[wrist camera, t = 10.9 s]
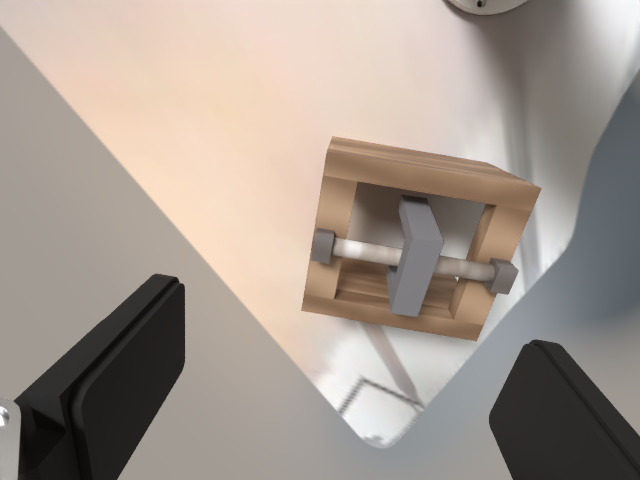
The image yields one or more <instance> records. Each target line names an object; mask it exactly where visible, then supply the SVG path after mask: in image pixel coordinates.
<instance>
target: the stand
mask: <svg viewBox="0 0 640 480" xmlns="http://www.w3.org/2000/svg"><path fill="white" fill-rule="evenodd" d="M358 181H359V182H365V183H371V184H376V185H382V186H388V187H394V188H400V189H406V190H411V191H417V192H423V193H429V194H435V195H441V196H447V197H452V198H458V199H464V200H470V201H476V202H482V203H486V205H485V208H484V211H483V214H482V216H481V219H480V222H479V225H478V227H477V230H476V233H475V236H474V238H473V241H472V244H471V247H470V249H469V252H468V255H467V258H466V260H462V259H457V258H451V257H445V256H439V258H438V260H437V263H436V266H435V269H434V272H433V274H432V277H431V280H430V283H429V286H428V288H427V291H426V294H425V297H424V300H423V302H422V305H421V308H420V311H419V314H418V316H417V317H414V316H407V315H400V314H393V313H390V304H389V295H388V286H387V277H386V269H385V264H387V265H393V266H398V264H399V261H400V257H401V254H402V250H403V249H399V248H393V247H387V246H381V245H375V244H370V243H364V242H358V241H352V240H346V237H347V232H348V227H349V222H350V217H351V212H352V207H353V202H354V197H355V192H356V188H357V183H358ZM540 191H541V188H540V187H538V186H535V185H533V184H531V183H529V182H527V181H525V180H523V179H520V178H518V177H516V176H514V175H512V174H510V173H508V172H506V171H503V170H501V169H499V168H497V167H495V166H493V165H491V164H488V163H486V162H480V161H474V160H468V159H462V158H456V157H451V156H445V155H439V154H433V153H427V152H421V151H415V150H409V149H404V148H398V147H392V146H386V145H380V144H374V143H368V142H362V141H357V140H351V139H345V138H339V137H333V136H332V139H331V142H330V145H329V147H328V150H327V154H326V160H325V167H324V173H323V179H322V185H321V192H320V198H319V204H318V210H317V217H316V223H315V229H314V235H313V241H312V248H311V254H310V260H309V266H308V273H307V279H306V285H305V291H304V298H303V304H302V310H301V311H306V312H312V313H318V314H323V315H329V316H335V317H341V318H346V319H352V320H358V321H364V322H369V323H375V324H381V325H387V326H392V327H398V328H404V329H410V330H415V331H421V332H427V333H433V334H438V335H444V336H450V337H456V338H461V339H467V340H473V341H477V339H478V337H479V334H480V332H481V330H482V327H483V325H484V323H485V320H486V318H487V316H488V313H489V311H490V309H491V306H492V304H493V301H494V299H495V297H496V294H497V293H501V294H507V295H508V294H509V292H510V290H511V288H512V285H513V283H514V281H515V278H516V276H517V274H518V272H519V271H518V270H517V269H516V268H515V267H514V266H513V265H512V264H511V263H510V261H511V259H512V257H513V254H514V252H515V250H516V247H517V245H518V243H519V240H520V238H521V236H522V233H523V231H524V228H525V226H526V224H527V221H528V219H529V217H530V214H531V212H532V210H533V207H534V205H535V203H536V200H537V198H538V195H539V193H540ZM454 276H456V277H459V279H458V282H457V280H456V279H455V277H454Z"/></svg>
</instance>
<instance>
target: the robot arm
mask: <svg viewBox="0 0 640 480" xmlns="http://www.w3.org/2000/svg"><path fill="white" fill-rule="evenodd" d="M448 1H450V2H451V3H452V4H453V5H454V6H456V7H457V8H459V9H461V10H463V11H465V12H468V13H472V14H477V15H493V14H498V13H502V12H506V11H508V10H510V9H513V8H515V7H517V6H519V5H521V4H522V3H524V2H526V1H528V0H448ZM478 2H480V3H481V6H480V7H478V6H477V3H478ZM184 363H185V286H184V284H181V283H179V280H178V278H177V277H173V276H167V275H162V274H154V275H152V276H151V277H150V278H149V279H148V280H147V281H146V282H145V283H144V284H142V285H141V286H140V287H139V288H138V289H137V290H136V291H135V292H134V293H133V294H132V295H130V296H129V297H128V298H127V299H126V300H125V301H124V302H123V303H122V304H121V305H119V306H118V307H117V308H116V309H115V310H114V311H113V312H112V313H111V314H110V315H109V316H107V317H106V318H105V319H104V320H102V321H101V322H100V323H99V324H98V325H96V326H95V327H94V328H93V329H92V330H91V331H90V332H89V333H88V334H86V335H85V336H84V337H83V338H82V339H81V340H80V341H79V342H78V343H77V344H76V345H74V346H73V347H72V348H71V349H70V350H69V351H68V352H67V353H66V354H65V355H63V356H62V357H61V358H60V359H59V360H58V361H57V362H56V363H55V364H54V365H52V366H51V367H50V368H49V369H48V370H47V371H46V372H45V373H44V374H43V375H42V376H40V377H39V378H38V379H37V380H36V381H35V382H34V383H33V384H32V385H31V386H29V387H28V388H27V389H26V390H25V391H24V392H23V393H22V394H21V395H20V396H19V397H17V398H16V399H15V400H14V401H12V400H8V399H4V398H0V480H117V479H118V477H119V475H120V474H121V472H122V470H123V469H124V467H125V465H126V464H127V462H128V460H129V459H130V457H131V455H132V454H133V452H134V451H135V449H136V447H137V446H138V444H139V442H140V441H141V439H142V437H143V436H144V434H145V432H146V431H147V429H148V427H149V425H150V424H151V422H152V421H153V419H154V417H155V416H156V414H157V412H158V411H159V409H160V407H161V406H162V404H163V402H164V401H165V399H166V397H167V395H168V394H169V392H170V391H171V389H172V387H173V386H174V384H175V382H176V380H177V379H178V377H179V375H180V374H181V372H182V370H183V367H184ZM489 424H490V428H491V430H492V432H493V435H494V437H495V439H496V441H497V444H498V446H499V448H500V451H501V453H502V455H503V458H504V460H505V462H506V464H507V467H508V469H509V471H510V474H511V476H512V478H513V480H640V436H639V435H638V434H637V433H636V431H635V430H634V429H633V428H632V427H631V426H630V424H629V423H628V422H627V421H626V420H625V419H624V418H623V416H622V415H621V414H620V413H619V412H618V411H617V410H616V409H615V407H614V406H613V405H612V404H611V402H610V401H609V400H608V399H607V398H606V397H605V396H604V394H603V393H602V392H601V391H600V390H599V389H598V387H596V385H595V384H594V383H593V382H592V381H591V379H590V378H589V377H588V376H587V375H586V374H585V372H584V371H583V370H582V369H581V368H580V367H579V365H577V364H576V362H575V361H574V360H573V358H571V356H570V355H569V354H568V353H567V352H566V350H565V349H564V348H563V347H562V346H561V345H560V344H557V343H553V342H548V341H542V340H532V341H531V342H530V343H529V344H525V345H524V346H523V348H522V350H521V352H520V354H519V356H518V358H517V360H516V362H515V364H514V366H513V368H512V370H511V372H510V374H509V376H508V378H507V380H506V382H505V384H504V386H503V388H502V390H501V392H500V394H499V396H498V398H497V400H496V402H495V404H494V406H493V408H492V410H491V412H490V415H489Z"/></svg>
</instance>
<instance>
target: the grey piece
mask: <svg viewBox="0 0 640 480" xmlns="http://www.w3.org/2000/svg"><path fill="white" fill-rule="evenodd" d="M398 210H399V214H400V219H401V223H402V228H403V232H404V237H405V243H404V247H403V250H402V254H401V257H400V261H399V264H398V266H393V265H387V264H385V269H386V277H387V286H388V295H389V304H390V313H393V314H400V315H407V316H414V317H417V316H418V314H419V311H420V308H421V305H422V302H423V300H424V297H425V294H426V291H427V288H428V286H429V283H430V280H431V277H432V274H433V272H434V269H435V266H436V263H437V260H438V258H439V255H440V252H441V249H442V246H443V244H444V241H443V238H442V236H441V233H440V231H439V228H438V226H437V223H436V221H435V218H434V216H433V213H432V211H431V208H430V206H429V203H428V201H427V198H420V197H413V196H406V195H402V196H401V200H400V204H399V208H398Z"/></svg>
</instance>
